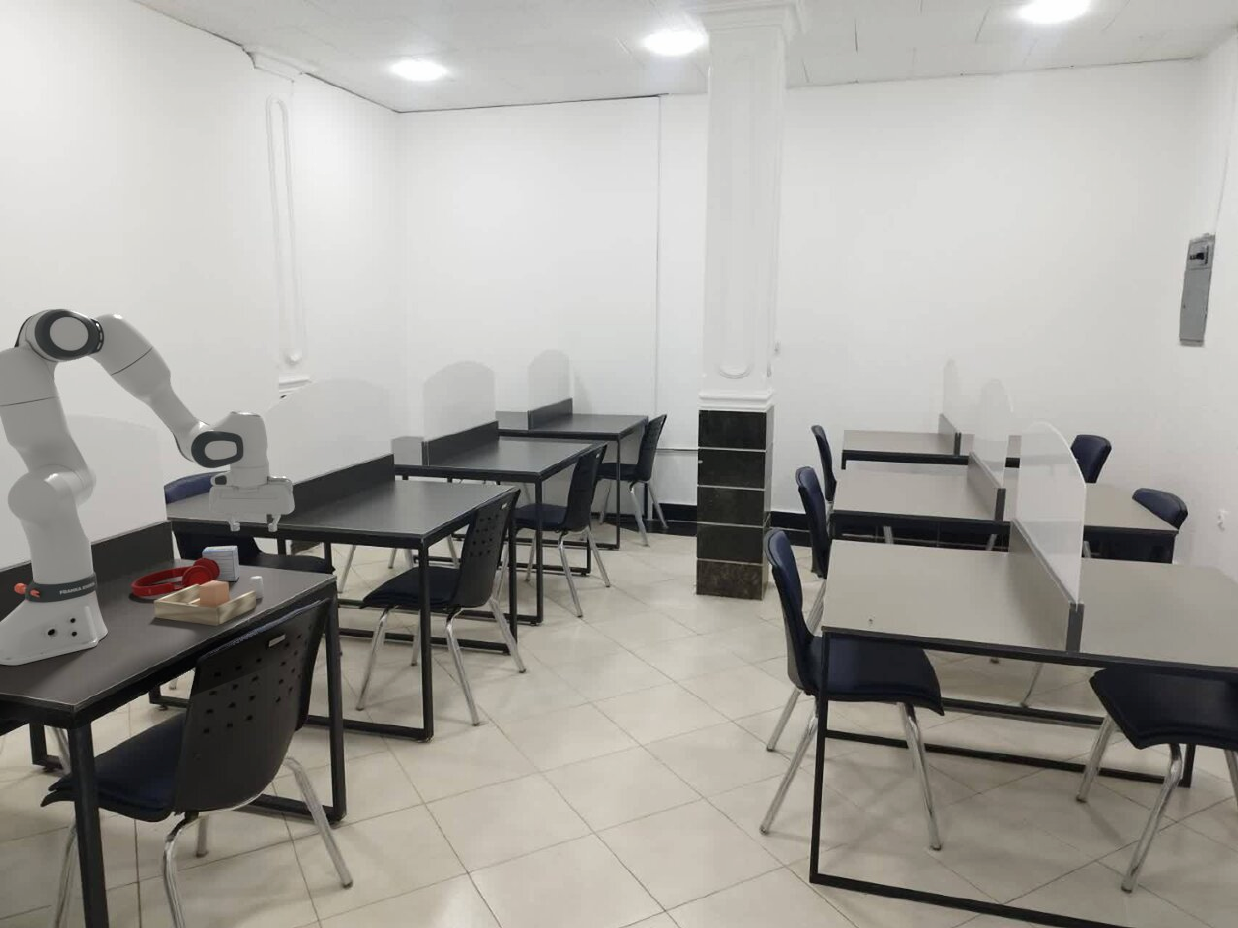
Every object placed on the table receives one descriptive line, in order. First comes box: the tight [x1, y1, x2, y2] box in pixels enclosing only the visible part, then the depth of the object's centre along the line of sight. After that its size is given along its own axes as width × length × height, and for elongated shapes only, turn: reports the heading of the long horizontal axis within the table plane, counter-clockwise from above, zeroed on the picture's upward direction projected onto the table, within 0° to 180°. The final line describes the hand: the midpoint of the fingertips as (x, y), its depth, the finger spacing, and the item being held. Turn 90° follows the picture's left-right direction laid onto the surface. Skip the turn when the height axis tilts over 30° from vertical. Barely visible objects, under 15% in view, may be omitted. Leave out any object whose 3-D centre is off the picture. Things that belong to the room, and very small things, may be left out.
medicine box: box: [201, 545, 240, 582], centre depth 232 cm, size 8×4×9 cm, turn 102°
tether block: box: [199, 575, 264, 607], centre depth 212 cm, size 18×4×8 cm, turn 164°
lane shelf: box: [153, 584, 257, 627], centre depth 209 cm, size 14×18×4 cm
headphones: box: [131, 557, 220, 598], centre depth 225 cm, size 15×7×20 cm
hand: (254, 530), depth 217 cm, fingers open, 8 cm apart
